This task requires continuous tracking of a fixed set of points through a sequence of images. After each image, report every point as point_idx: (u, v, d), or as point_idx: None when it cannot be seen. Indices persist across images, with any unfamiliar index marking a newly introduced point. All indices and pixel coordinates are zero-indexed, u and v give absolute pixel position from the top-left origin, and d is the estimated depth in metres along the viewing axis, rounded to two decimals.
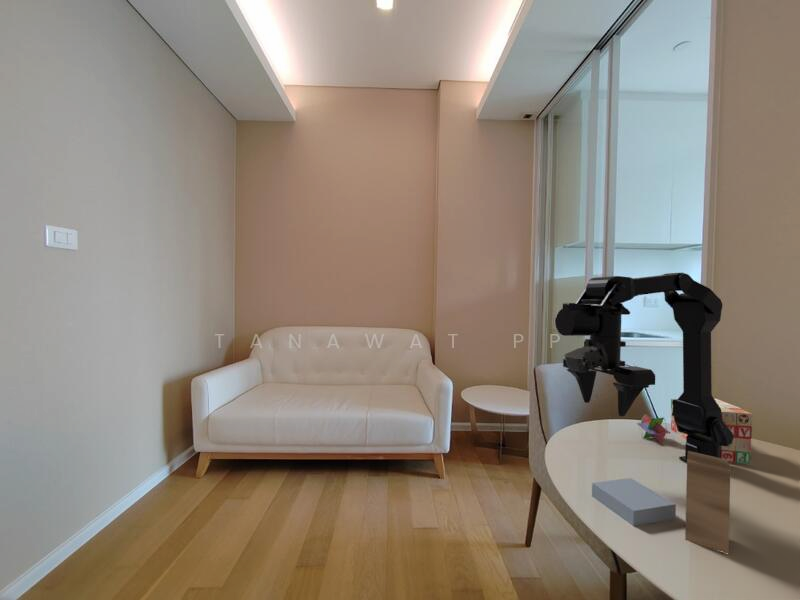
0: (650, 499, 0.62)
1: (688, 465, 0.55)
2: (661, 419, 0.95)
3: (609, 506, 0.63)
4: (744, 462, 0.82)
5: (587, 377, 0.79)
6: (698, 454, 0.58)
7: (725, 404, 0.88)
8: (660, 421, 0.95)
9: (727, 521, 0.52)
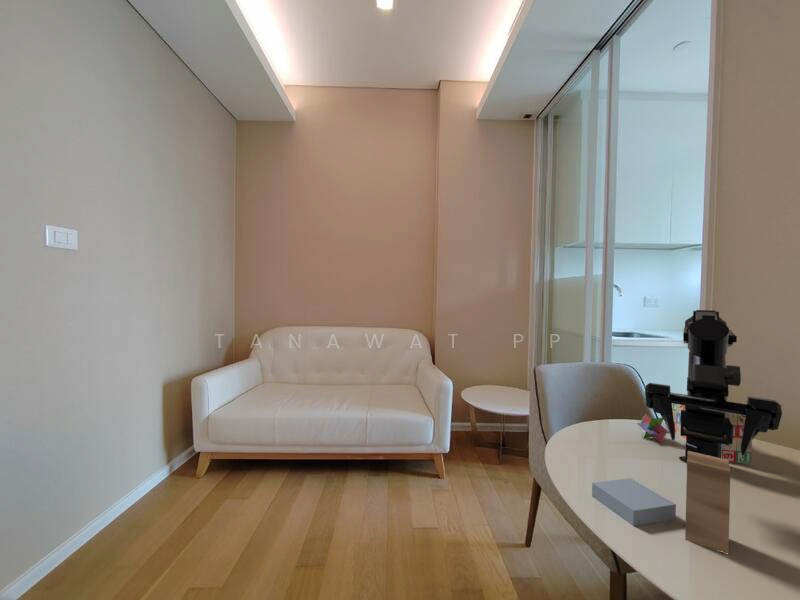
0: (651, 499, 0.62)
1: (688, 465, 0.55)
2: (661, 419, 0.95)
3: (609, 506, 0.63)
4: (744, 462, 0.82)
5: None
6: (698, 454, 0.58)
7: None
8: (660, 421, 0.95)
9: (727, 521, 0.52)
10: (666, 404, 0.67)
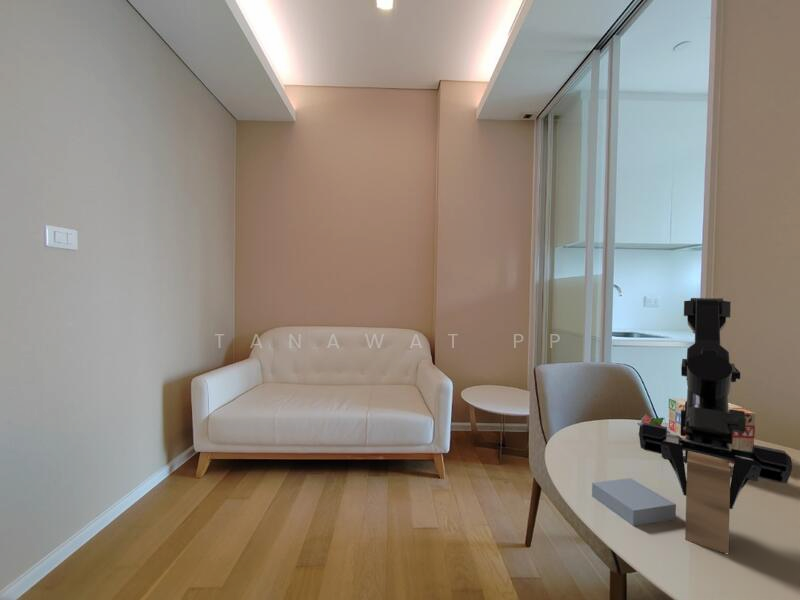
0: (650, 499, 0.62)
1: (688, 465, 0.55)
2: (661, 419, 0.95)
3: (609, 506, 0.63)
4: None
5: None
6: (698, 454, 0.58)
7: None
8: (660, 421, 0.95)
9: (727, 521, 0.52)
10: (676, 452, 0.59)
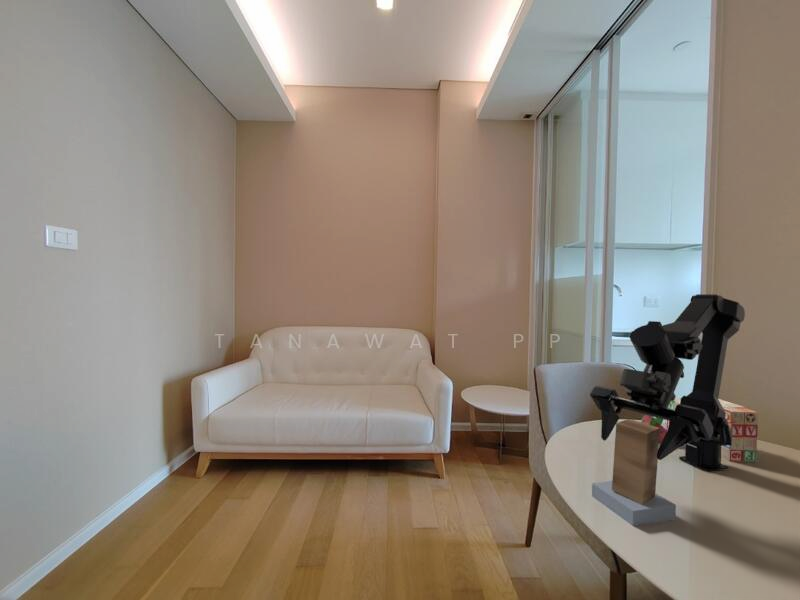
0: (650, 499, 0.62)
1: (617, 427, 0.64)
2: (661, 419, 0.95)
3: (609, 506, 0.63)
4: (750, 461, 0.83)
5: (613, 415, 0.70)
6: (635, 421, 0.65)
7: (728, 403, 0.89)
8: (660, 421, 0.95)
9: (642, 476, 0.60)
10: (604, 406, 0.69)
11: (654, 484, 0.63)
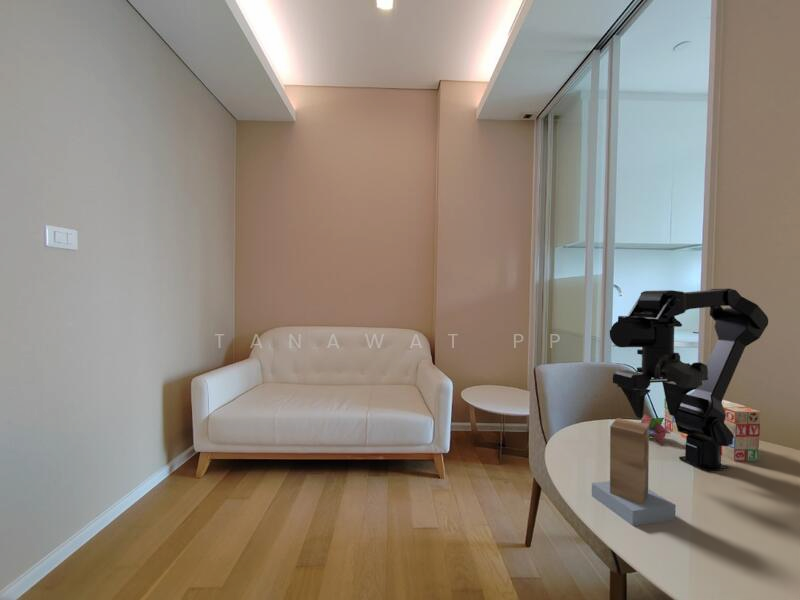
0: (650, 499, 0.62)
1: (611, 429, 0.63)
2: (661, 419, 0.95)
3: (609, 506, 0.63)
4: (753, 460, 0.83)
5: None
6: (624, 420, 0.66)
7: (729, 402, 0.89)
8: (660, 421, 0.95)
9: (641, 476, 0.60)
10: (643, 394, 0.75)
11: (647, 480, 0.64)
